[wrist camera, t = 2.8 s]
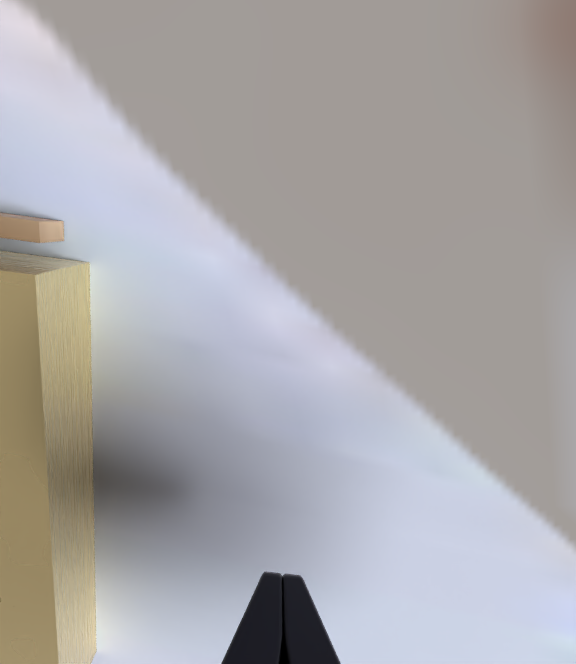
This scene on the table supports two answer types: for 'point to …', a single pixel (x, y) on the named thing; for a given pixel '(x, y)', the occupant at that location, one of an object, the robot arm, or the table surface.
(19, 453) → the brass hinge plate
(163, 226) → the table surface
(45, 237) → the guide rails
